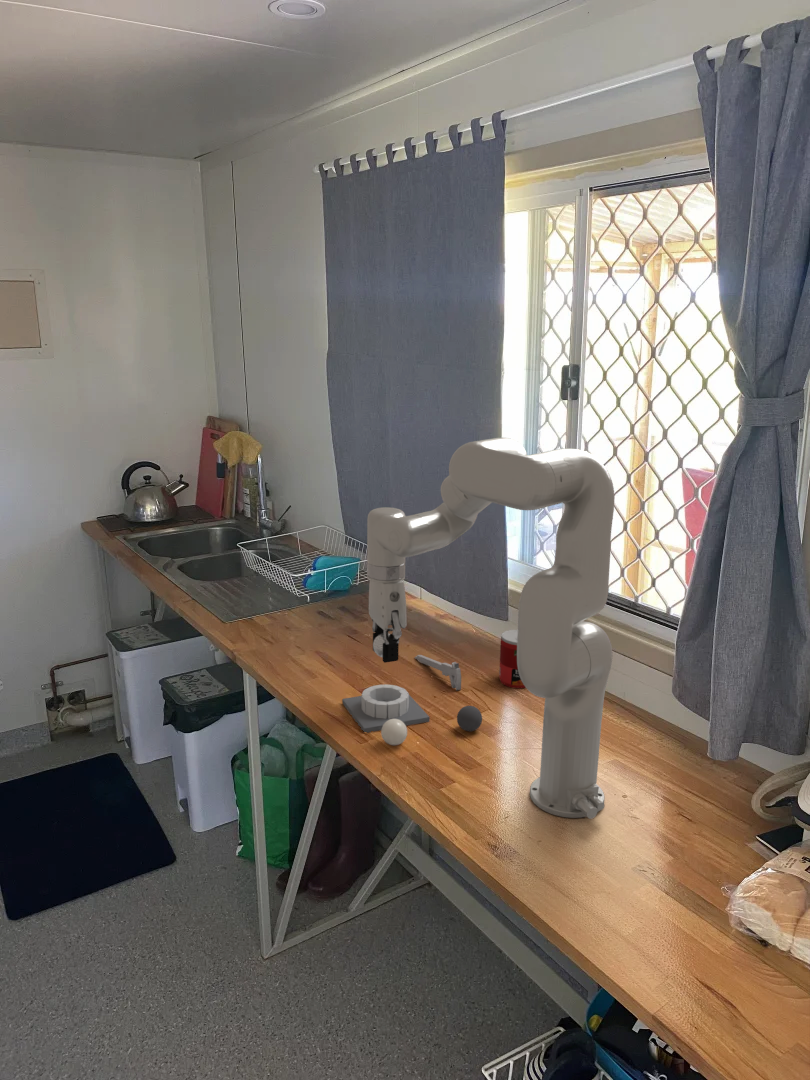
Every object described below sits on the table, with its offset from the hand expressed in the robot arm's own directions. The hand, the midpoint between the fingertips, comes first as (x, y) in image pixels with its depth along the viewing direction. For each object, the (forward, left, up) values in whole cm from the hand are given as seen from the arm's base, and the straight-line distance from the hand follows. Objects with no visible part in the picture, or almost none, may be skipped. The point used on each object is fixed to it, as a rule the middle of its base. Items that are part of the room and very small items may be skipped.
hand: (385, 654), depth 173 cm
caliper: (+14, -18, -13) cm, 26 cm away
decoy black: (-13, -13, -10) cm, 21 cm away
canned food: (+4, -33, -13) cm, 36 cm away
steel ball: (0, 0, +2) cm, 2 cm away
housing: (0, 0, -13) cm, 13 cm away
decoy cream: (-13, +3, -10) cm, 17 cm away
